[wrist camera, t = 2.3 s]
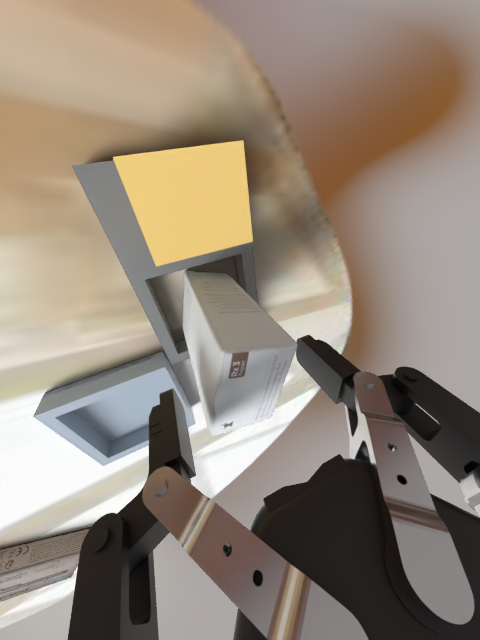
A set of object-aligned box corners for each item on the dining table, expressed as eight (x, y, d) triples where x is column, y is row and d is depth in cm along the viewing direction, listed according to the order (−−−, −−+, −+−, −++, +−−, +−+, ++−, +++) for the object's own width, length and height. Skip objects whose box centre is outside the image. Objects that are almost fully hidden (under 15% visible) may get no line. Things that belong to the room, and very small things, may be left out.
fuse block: (80, 168, 12) (16, 146, 6) (231, 148, 15) (296, 117, 8) (169, 352, 22) (179, 417, 15) (252, 322, 24) (291, 368, 18)
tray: (44, 393, 19) (33, 416, 17) (163, 350, 21) (165, 366, 19) (106, 444, 25) (103, 465, 23) (191, 407, 28) (195, 423, 26)
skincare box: (220, 323, 22) (276, 421, 13) (178, 326, 21) (208, 441, 11) (228, 269, 19) (307, 344, 10) (180, 266, 18) (222, 355, 8)
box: (77, 552, 37) (73, 577, 35) (-78, 599, 27) (-100, 639, 25) (93, 523, 34) (90, 549, 32) (-76, 564, 24) (-101, 606, 22)
